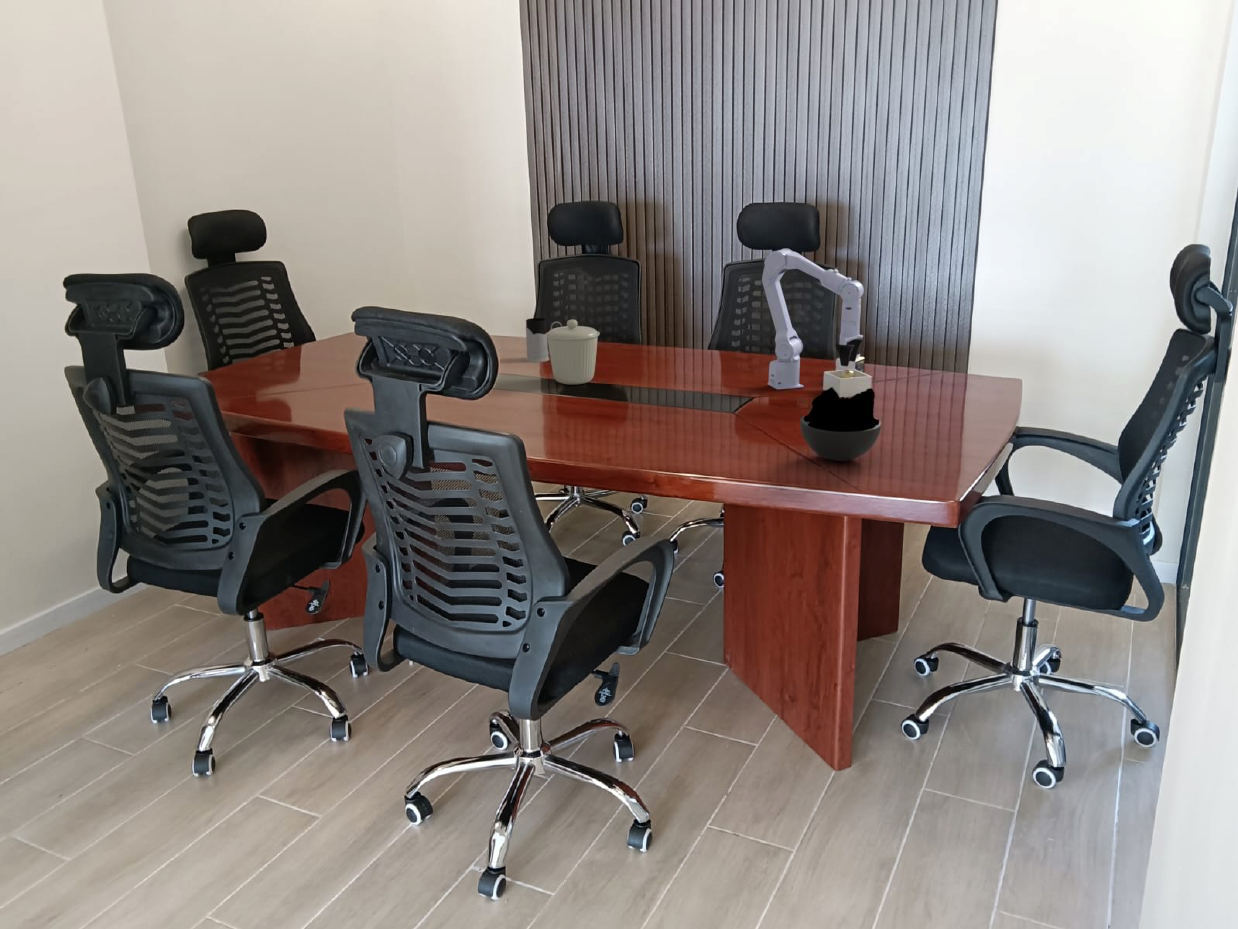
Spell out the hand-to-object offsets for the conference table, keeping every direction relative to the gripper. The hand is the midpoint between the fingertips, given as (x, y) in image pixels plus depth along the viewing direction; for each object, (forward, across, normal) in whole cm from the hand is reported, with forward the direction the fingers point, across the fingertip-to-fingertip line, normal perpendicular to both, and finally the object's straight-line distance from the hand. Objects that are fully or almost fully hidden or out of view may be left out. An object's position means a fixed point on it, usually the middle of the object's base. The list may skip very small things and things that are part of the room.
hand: (848, 363), depth 318 cm
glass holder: (+10, +1, +116) cm, 116 cm away
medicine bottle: (+10, +19, +5) cm, 22 cm away
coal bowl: (+10, -69, -19) cm, 72 cm away
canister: (+10, -25, +87) cm, 91 cm away
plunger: (+8, 0, 0) cm, 8 cm away
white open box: (+9, 0, 0) cm, 9 cm away
